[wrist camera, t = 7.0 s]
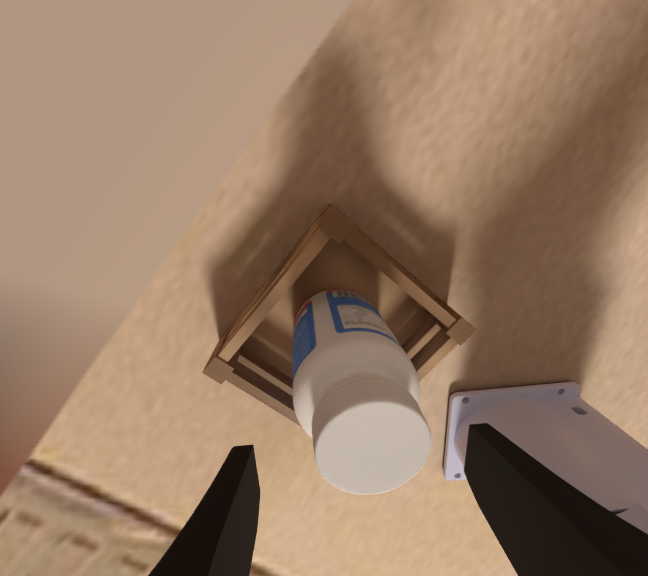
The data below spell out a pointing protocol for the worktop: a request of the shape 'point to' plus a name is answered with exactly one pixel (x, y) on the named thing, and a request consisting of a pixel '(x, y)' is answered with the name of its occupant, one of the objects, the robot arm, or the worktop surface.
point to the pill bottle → (357, 395)
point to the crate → (319, 275)
